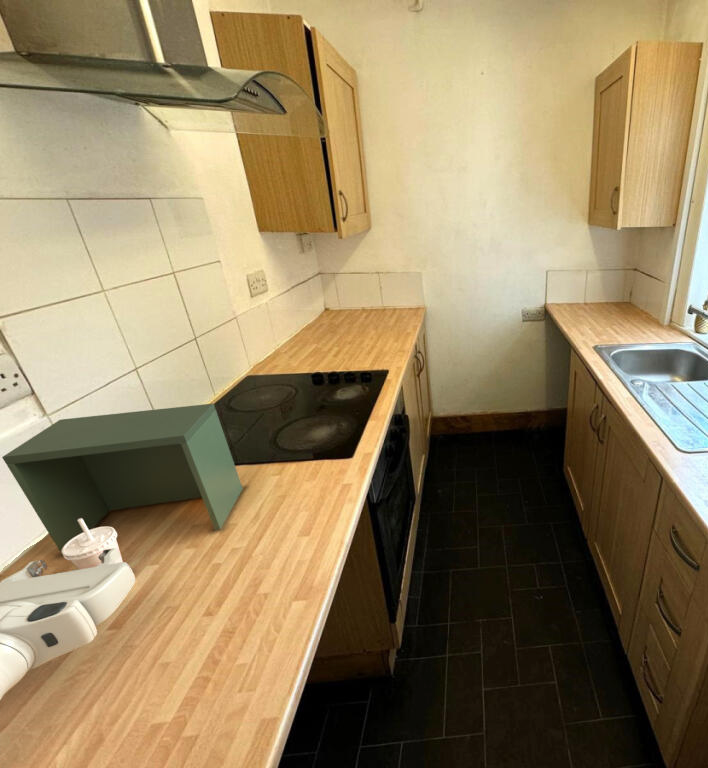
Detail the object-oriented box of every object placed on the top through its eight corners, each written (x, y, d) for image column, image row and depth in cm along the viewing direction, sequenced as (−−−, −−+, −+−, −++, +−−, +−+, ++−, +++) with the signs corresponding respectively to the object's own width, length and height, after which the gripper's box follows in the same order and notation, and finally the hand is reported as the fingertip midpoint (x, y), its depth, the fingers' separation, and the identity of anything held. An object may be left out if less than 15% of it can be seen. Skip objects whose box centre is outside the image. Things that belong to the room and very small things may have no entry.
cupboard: (62, 555, 76) (1, 457, 67) (106, 508, 88) (60, 419, 79) (220, 529, 82) (184, 435, 73) (242, 488, 93) (213, 403, 84)
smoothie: (109, 602, 67) (70, 536, 61) (76, 597, 68) (35, 531, 62) (147, 570, 73) (115, 507, 67) (116, 565, 74) (82, 503, 68)
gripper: (-92, 680, 51) (4, 586, 63) (105, 639, 55) (159, 559, 67) (-125, 646, 48) (-18, 555, 60) (85, 606, 52) (145, 529, 65)
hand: (77, 557), depth 64 cm, fingers open, 8 cm apart
